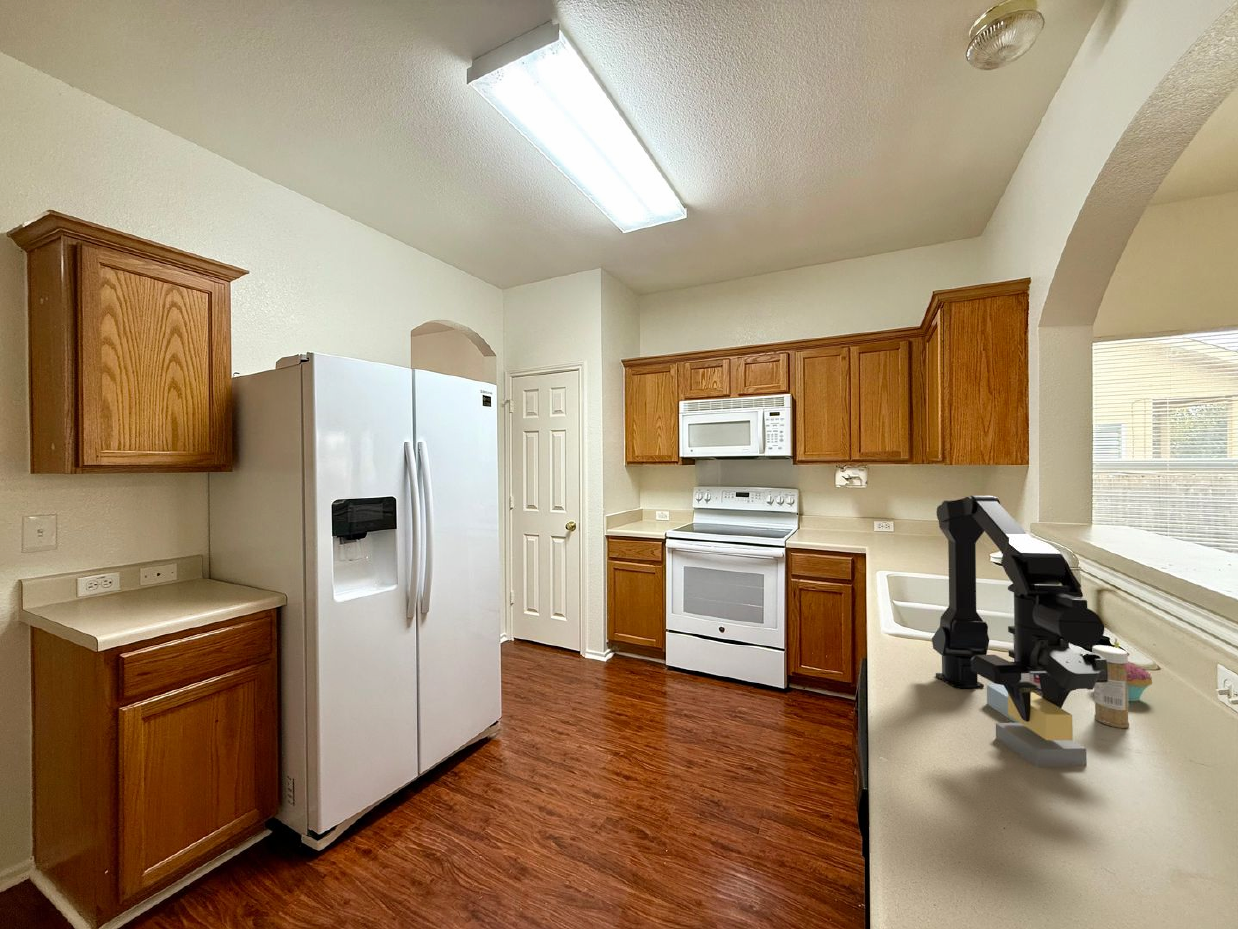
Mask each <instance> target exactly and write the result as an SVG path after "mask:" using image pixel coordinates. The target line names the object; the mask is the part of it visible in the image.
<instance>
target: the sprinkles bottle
mask: <svg viewBox="0 0 1238 929" xmlns="http://www.w3.org/2000/svg"><path fill="white" fill-rule="evenodd" d="M1091 647H1092V648H1091V649H1092V650H1091V651H1092V652H1091V653H1098V654H1100V655H1101V656H1103V657H1104V658H1105V659H1106V661H1107V668H1108V682H1097V683H1096V684H1095V686H1094V689H1093V692H1094V700H1093V701H1094V709H1095V712H1094V718H1095V720H1096V721H1098V722H1099V723H1101V724H1104V725H1106V726H1109V727H1113V728H1118V729H1124V728H1126V729H1127V728H1129V727H1130V723H1129V701H1128V690H1127V671H1126V670H1127V669H1126V665H1127V662H1129V661H1128V660H1129V659H1128V658H1129V656H1128V652H1127V651H1126V650H1124V649H1122V648H1120V647H1119V648H1115V647H1114V646H1110V645H1101V644H1098V645H1096V644H1095V645H1092V646H1091Z"/></svg>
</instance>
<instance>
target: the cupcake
mask: <svg viewBox="0 0 1238 929" xmlns="http://www.w3.org/2000/svg"><path fill="white" fill-rule="evenodd" d="M1114 640H1115V641H1114V642H1113V644H1114V646H1113V647H1115V648H1119V649H1120V643H1119V641H1117V640H1118V639H1117V638H1114ZM1126 669H1127V670H1126V671H1127V690H1128V702H1138V701H1140V699H1141V696H1142V694H1143V692H1144V691H1145V689H1147V688H1148V687H1149V686H1151V685H1153V681H1152V680H1153V677H1152V676H1151V674H1150V673H1149V672H1148V671H1147V670H1146V669H1144V668H1142V667H1141V666H1139V665H1138V664H1136V663H1133V662H1130V661H1128V662H1127V665H1126Z"/></svg>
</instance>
